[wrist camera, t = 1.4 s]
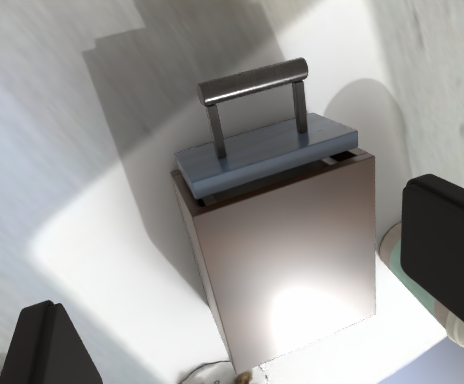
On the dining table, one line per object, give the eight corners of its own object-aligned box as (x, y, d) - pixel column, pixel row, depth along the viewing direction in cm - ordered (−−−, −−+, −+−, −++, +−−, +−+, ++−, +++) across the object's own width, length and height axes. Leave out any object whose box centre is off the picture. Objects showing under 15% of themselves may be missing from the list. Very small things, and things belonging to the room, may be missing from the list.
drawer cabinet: (169, 172, 28) (191, 217, 21) (315, 127, 30) (375, 155, 24) (210, 309, 35) (236, 375, 28) (326, 263, 37) (375, 314, 31)
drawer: (154, 85, 24) (169, 100, 19) (307, 46, 26) (356, 51, 21) (212, 291, 33) (233, 339, 28) (324, 248, 35) (362, 285, 30)
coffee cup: (445, 231, 41) (562, 300, 31) (393, 286, 42) (490, 372, 32) (410, 192, 37) (532, 257, 27) (353, 255, 38) (449, 341, 28)
